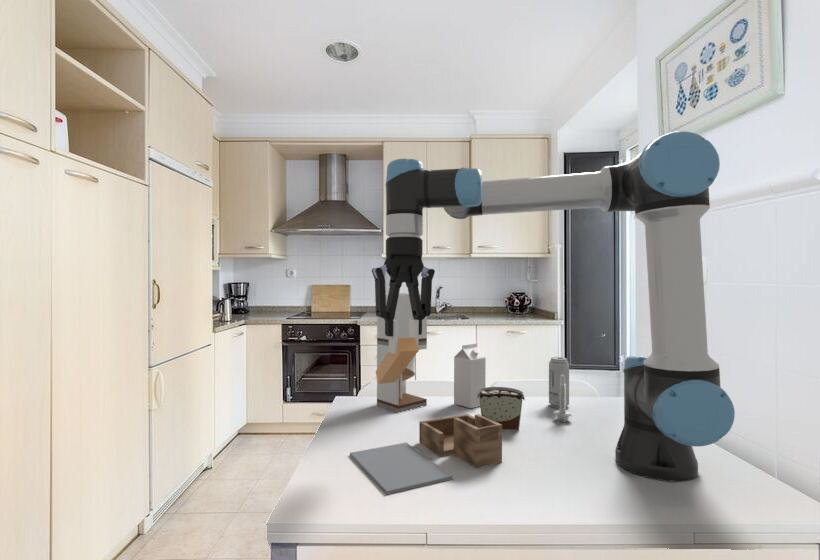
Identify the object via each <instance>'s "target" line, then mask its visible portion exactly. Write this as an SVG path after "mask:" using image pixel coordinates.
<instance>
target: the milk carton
mask: <svg viewBox="0 0 820 560" xmlns="http://www.w3.org/2000/svg"><path fill="white" fill-rule="evenodd" d="M486 361H487V360H486V356H485V354H483V352H482V351H481V350H480V348H479V346H478V343H472V344H470V343H469V344H462V346H461V349H460V351H458V352H457V353H456V354H455V356H453V404H454V405H458V406H460V407H465V408H468V409H474V408H478V407H480V398H479V397H478V399H477V396H478V392H479V390H480V389H482V388H486V377H487V376H486V374H487V373H486V369H487V368H486V366H487V365H486Z"/></svg>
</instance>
